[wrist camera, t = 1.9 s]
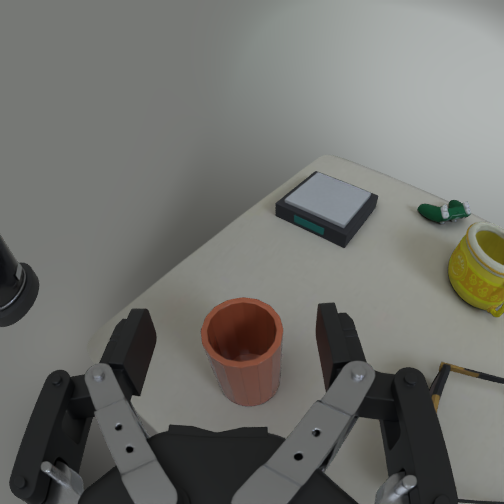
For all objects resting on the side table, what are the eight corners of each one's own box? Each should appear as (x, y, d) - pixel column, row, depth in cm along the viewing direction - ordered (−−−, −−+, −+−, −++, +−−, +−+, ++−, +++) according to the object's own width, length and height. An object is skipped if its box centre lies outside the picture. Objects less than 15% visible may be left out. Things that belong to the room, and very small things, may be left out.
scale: (343, 248, 43) (347, 232, 41) (274, 216, 49) (274, 200, 46) (375, 207, 49) (379, 192, 47) (314, 182, 55) (315, 167, 53)
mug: (434, 256, 41) (461, 189, 32) (487, 257, 40) (517, 197, 31) (459, 331, 32) (506, 265, 23) (516, 324, 31) (561, 265, 22)
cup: (224, 411, 28) (205, 373, 21) (215, 357, 32) (197, 304, 25) (286, 399, 29) (291, 357, 22) (272, 347, 33) (272, 291, 26)
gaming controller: (419, 227, 48) (440, 224, 42) (415, 205, 48) (436, 200, 42) (455, 220, 49) (476, 218, 43) (451, 200, 49) (472, 195, 43)
